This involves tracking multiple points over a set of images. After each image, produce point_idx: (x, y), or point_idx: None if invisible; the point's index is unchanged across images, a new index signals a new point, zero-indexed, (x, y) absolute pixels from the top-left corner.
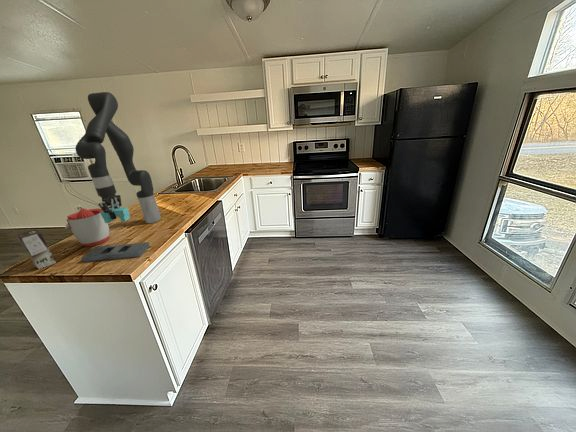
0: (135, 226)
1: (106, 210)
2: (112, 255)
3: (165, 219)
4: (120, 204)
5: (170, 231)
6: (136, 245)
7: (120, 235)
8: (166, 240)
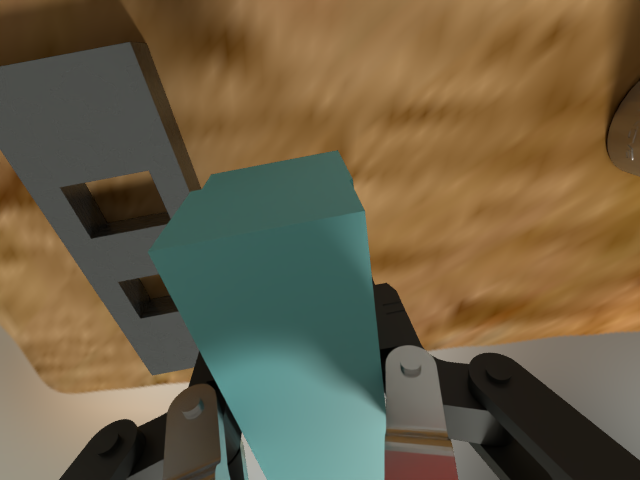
0: (601, 15)
1: (277, 310)
2: (89, 272)
3: (637, 201)
4: (490, 451)
5: (417, 330)
6: None
7: (424, 9)
8: None
